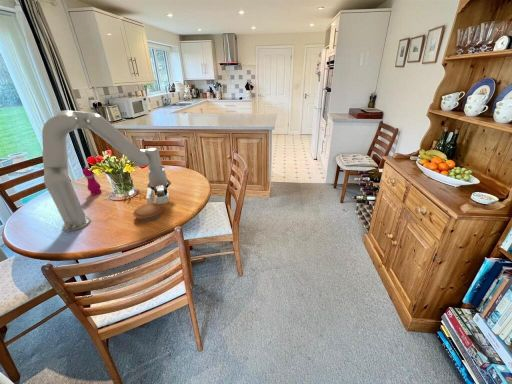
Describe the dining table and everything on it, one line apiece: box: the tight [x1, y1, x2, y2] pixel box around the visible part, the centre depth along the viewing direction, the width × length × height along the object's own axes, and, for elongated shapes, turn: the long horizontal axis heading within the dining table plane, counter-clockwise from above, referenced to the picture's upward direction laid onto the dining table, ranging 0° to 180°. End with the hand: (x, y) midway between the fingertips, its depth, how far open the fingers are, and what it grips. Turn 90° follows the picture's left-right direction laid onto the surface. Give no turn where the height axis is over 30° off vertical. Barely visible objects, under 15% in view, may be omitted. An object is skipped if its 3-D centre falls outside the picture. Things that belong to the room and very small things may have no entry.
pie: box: [132, 202, 164, 222], centre depth 133 cm, size 15×16×5 cm
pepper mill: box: [82, 165, 103, 196], centre depth 156 cm, size 7×7×20 cm
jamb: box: [145, 187, 170, 205], centre depth 151 cm, size 17×12×5 cm
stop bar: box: [156, 186, 166, 197], centre depth 151 cm, size 11×4×6 cm, turn 18°
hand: (161, 194), depth 152 cm, fingers open, 4 cm apart
